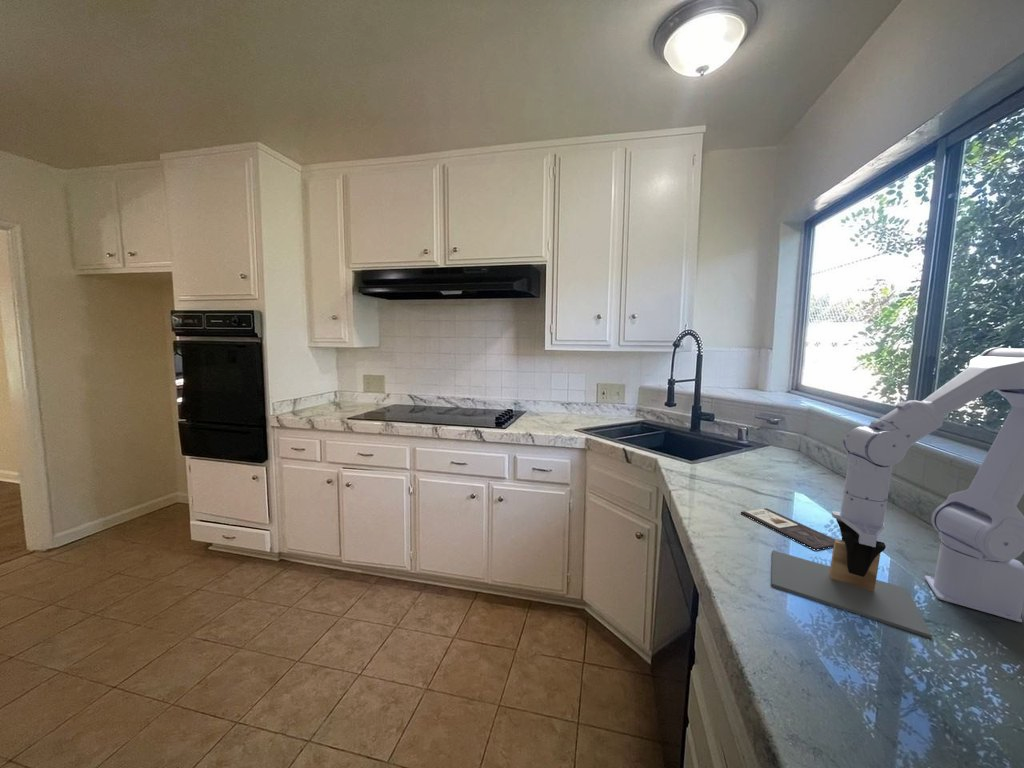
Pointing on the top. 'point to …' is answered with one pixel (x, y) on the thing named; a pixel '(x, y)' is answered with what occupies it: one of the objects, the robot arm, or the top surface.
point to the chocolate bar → (791, 528)
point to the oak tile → (841, 570)
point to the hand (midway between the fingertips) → (853, 566)
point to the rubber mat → (847, 593)
